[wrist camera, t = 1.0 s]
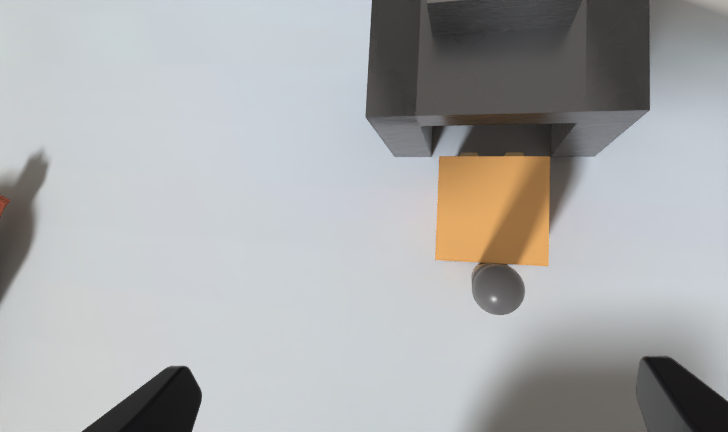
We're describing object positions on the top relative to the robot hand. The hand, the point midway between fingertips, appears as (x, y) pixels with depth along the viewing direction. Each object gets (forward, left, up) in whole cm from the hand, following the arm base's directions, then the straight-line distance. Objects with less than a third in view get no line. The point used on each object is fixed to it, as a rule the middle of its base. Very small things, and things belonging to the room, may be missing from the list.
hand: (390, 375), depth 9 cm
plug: (+2, -5, -14) cm, 15 cm away
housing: (+7, -8, -14) cm, 18 cm away
